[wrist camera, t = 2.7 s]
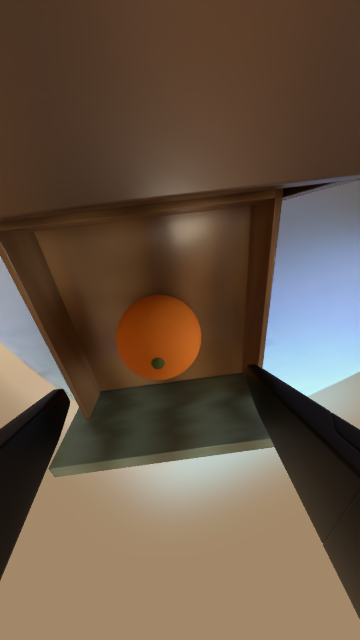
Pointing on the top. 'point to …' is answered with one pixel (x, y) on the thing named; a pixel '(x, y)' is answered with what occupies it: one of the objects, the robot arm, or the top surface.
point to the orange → (158, 337)
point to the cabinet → (174, 101)
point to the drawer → (138, 282)
